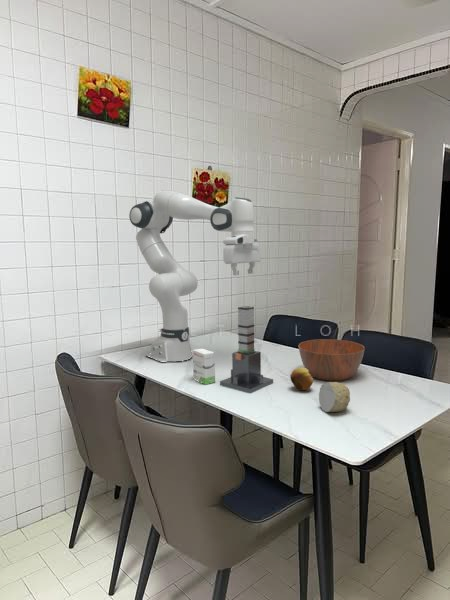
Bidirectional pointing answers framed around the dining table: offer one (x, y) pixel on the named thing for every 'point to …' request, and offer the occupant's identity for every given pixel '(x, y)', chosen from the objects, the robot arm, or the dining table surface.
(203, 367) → the ink box
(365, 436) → the dining table surface
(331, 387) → the yellow rounded chunk
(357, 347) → the bowl
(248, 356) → the stand
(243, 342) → the column
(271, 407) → the dining table surface
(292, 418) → the dining table surface
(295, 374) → the fruit
